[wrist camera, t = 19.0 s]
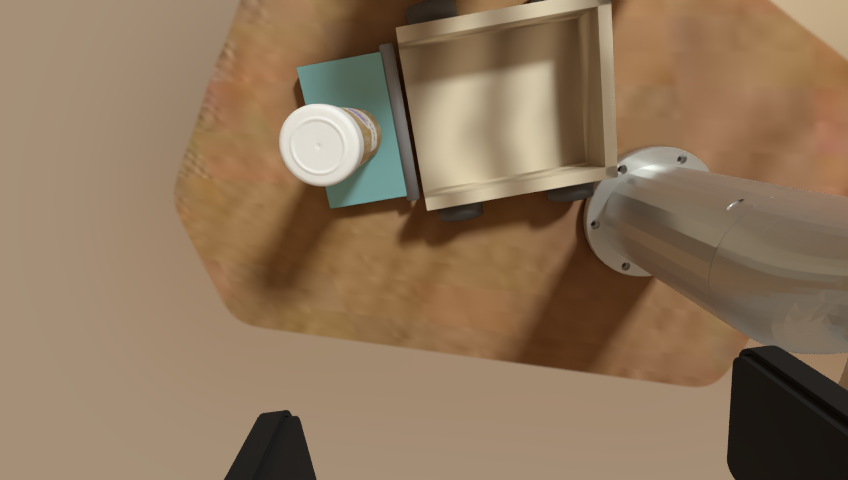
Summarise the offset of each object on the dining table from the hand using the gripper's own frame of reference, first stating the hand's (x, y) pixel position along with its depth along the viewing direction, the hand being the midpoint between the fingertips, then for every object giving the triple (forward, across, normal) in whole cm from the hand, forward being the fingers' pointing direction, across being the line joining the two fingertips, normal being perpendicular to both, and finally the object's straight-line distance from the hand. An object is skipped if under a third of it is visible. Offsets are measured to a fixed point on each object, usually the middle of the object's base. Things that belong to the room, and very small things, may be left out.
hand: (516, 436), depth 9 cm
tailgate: (+30, +3, -6) cm, 31 cm away
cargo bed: (+32, -6, -7) cm, 33 cm away
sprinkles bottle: (+30, +7, -6) cm, 31 cm away
